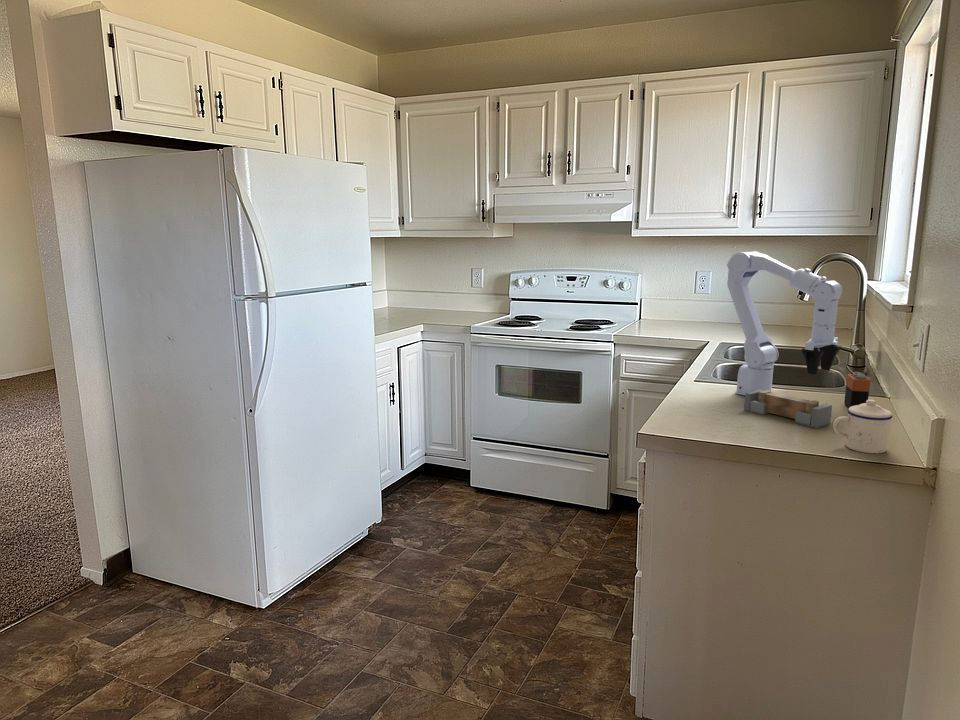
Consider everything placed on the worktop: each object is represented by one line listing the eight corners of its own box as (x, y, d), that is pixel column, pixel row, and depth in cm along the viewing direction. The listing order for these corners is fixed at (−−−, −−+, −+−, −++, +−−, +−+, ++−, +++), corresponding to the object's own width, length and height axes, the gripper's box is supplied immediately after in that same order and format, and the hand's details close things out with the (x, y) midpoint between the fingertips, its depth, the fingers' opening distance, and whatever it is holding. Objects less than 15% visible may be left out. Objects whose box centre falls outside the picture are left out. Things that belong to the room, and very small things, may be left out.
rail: (757, 409, 185) (759, 392, 184) (764, 407, 187) (765, 390, 186) (810, 422, 173) (812, 403, 172) (816, 420, 175) (819, 401, 174)
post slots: (743, 410, 186) (745, 392, 185) (757, 405, 191) (759, 388, 190) (816, 428, 170) (818, 409, 169) (830, 422, 174) (832, 404, 173)
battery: (850, 410, 186) (854, 375, 184) (843, 403, 192) (847, 370, 190) (867, 411, 185) (871, 376, 183) (860, 404, 191) (864, 371, 189)
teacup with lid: (879, 442, 159) (885, 396, 157) (894, 455, 151) (900, 406, 148) (825, 439, 162) (830, 393, 159) (837, 452, 153) (842, 403, 151)
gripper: (825, 329, 176) (820, 378, 179) (851, 323, 185) (845, 370, 188) (799, 325, 182) (794, 373, 185) (825, 320, 190) (820, 366, 193)
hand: (818, 371), depth 187 cm, fingers open, 7 cm apart
